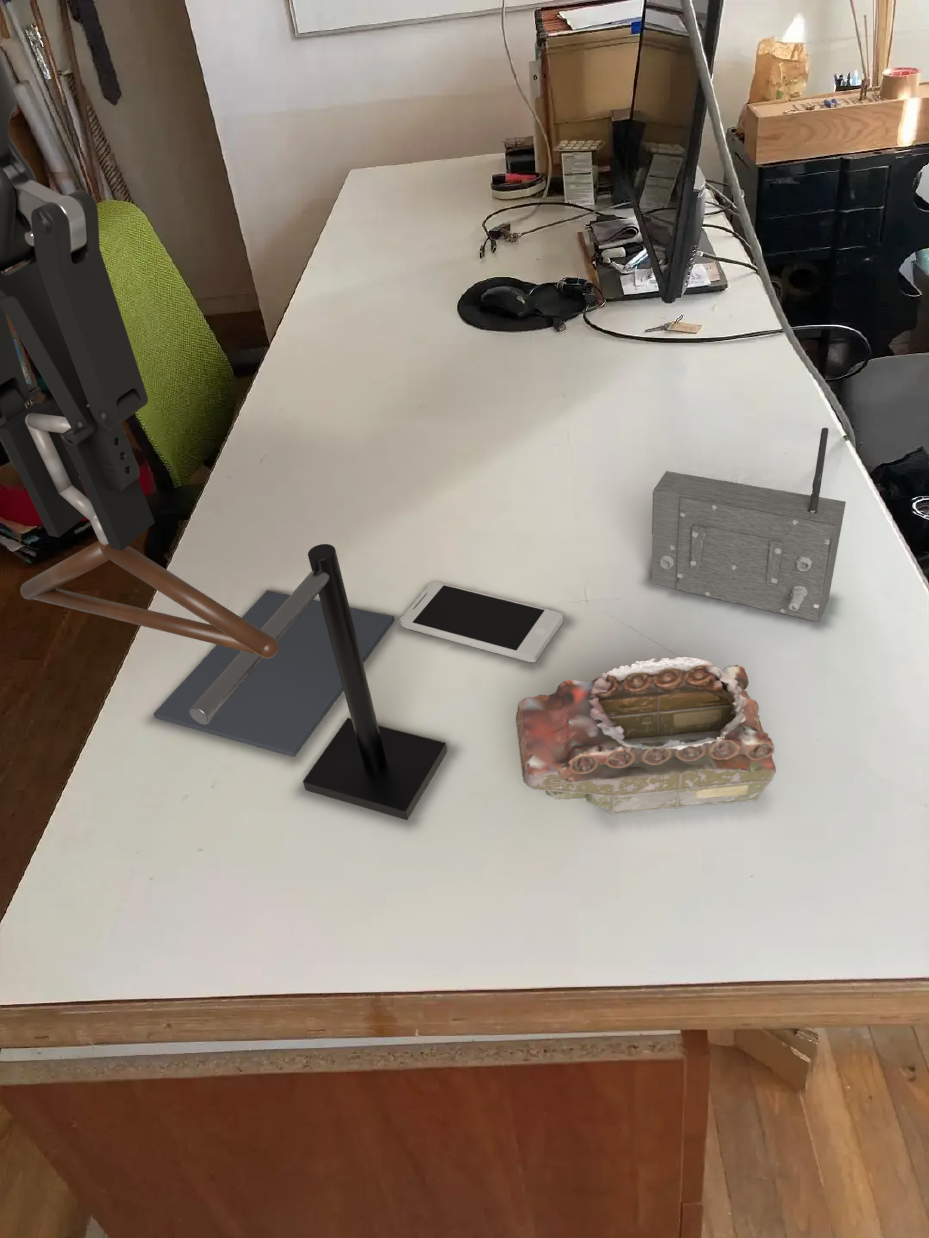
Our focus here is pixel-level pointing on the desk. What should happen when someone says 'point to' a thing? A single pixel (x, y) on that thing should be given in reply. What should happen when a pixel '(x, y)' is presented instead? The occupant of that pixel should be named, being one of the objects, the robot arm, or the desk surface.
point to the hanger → (45, 585)
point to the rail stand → (361, 750)
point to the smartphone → (483, 621)
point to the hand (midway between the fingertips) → (101, 528)
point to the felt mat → (276, 680)
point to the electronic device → (747, 541)
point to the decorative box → (648, 738)
